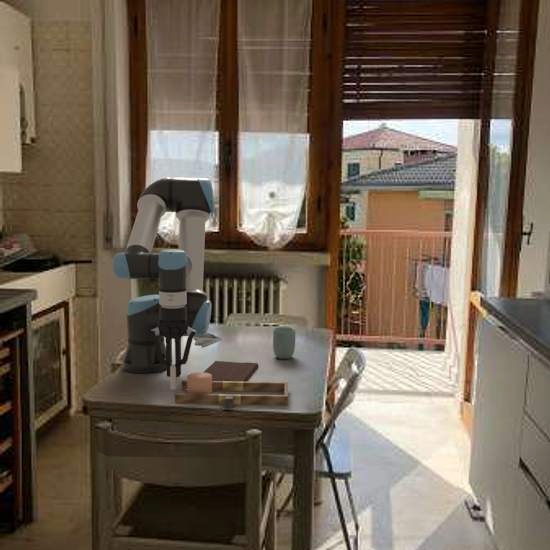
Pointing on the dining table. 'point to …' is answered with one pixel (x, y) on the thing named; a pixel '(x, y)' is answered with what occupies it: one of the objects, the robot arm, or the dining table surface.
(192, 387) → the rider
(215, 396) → the track
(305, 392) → the dining table surface
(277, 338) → the cup
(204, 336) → the cloth
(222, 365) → the notebook
